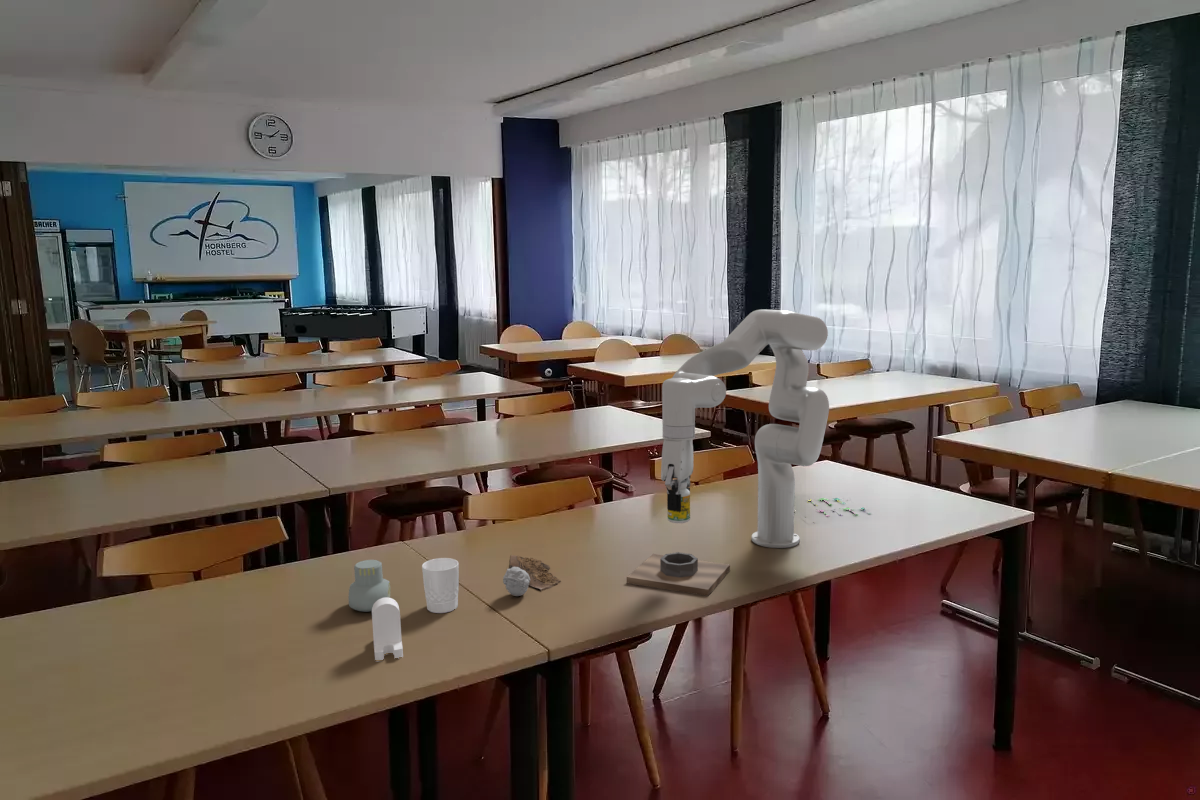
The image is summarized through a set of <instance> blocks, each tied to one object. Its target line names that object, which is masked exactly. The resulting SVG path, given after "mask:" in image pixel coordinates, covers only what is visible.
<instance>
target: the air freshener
mask: <svg viewBox="0 0 1200 800" xmlns="http://www.w3.org/2000/svg"><path fill="white" fill-rule="evenodd" d="M382 564H383V562H381V561H380V560H377V559H366V560H362V561H361V560H360V561H359V562H356V564H354V566H353V569H354V582H352V583H350V585H349V589H348V606H349V608H351V609H352V610H355V611H358V612H366V613H369V612H372V607H373V605H374V603H375V602H376V601H377V600H379V599H381V598H384V597H389V598H391V582H390V580H388V579H386V578H383V577H384V576H383V565H382Z"/></svg>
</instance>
